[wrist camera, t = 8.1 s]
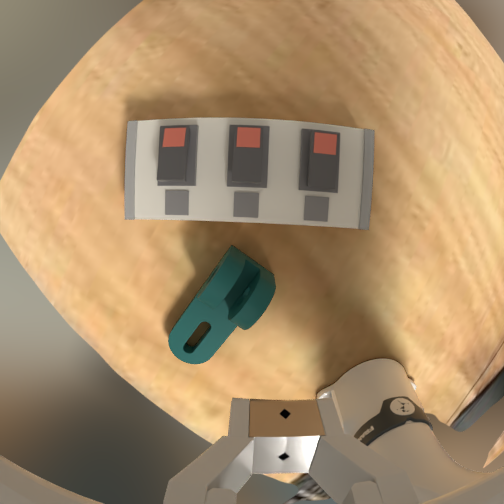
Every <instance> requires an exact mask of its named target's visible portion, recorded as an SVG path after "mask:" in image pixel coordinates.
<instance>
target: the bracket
mask: <svg viewBox="0 0 504 504" xmlns="http://www.w3.org/2000/svg"><path fill="white" fill-rule="evenodd" d="M275 289H276V284H275V279H274V274H272V273H271V272H269V271H268V270H267V269H265V268H264V267H262V266H261V265H259V264H258V263H257V262H255V261H254V260H252V259H251V258H250V257H248V256H247V255H245V254H244V253H242V252H241V251H240V250H238V249H237V248H235V247H234V246H233V245H231V247H230V248H229V250H228V251H227V252H226V254H225V255H224V257H223V258H222V259H221V261H220V262H219V263H218V265H217V266H216V268H215V269H214V270H213V272H212V273H211V275H210V276H209V277H208V279H207V280H206V282H205V283H204V284H203V286H202V287H201V289H200V290H199V291H198V293H197V294H196V296H195V297H194V298H193V300H192V301H191V303H190V304H189V306H188V307H187V308H186V310H185V311H184V313H183V314H182V315H181V317H180V318H179V320H178V321H177V323H176V324H175V326H174V327H173V329H172V331H171V333H170V335H169V339H168V342H169V347H170V349H171V351H172V353H173V354H174V355H175V356H176V357H177V358H178V359H180V360H181V361H183V362H186V363H190V364H201V363H204V362H206V361H208V360H209V359H210V358H211V357H212V356H213V355H214V354H215V352H216V351H217V350H218V349H219V348H220V346H221V345H222V344H223V343H224V342H225V340H226V339H227V338H228V337H229V335H230V334H231V333H232V332H233V331H234V329H235V328H236V327H237V326H239V327H240V328H242V329H243V330H247V329H249V328H250V327H251V326H253V325H254V324H255V323H256V322H257V320H258V319H259V318H260V317H261V316H262V314H263V313H264V311H265V310H266V308H267V307H268V305H269V303H270V302H271V300H272V298H273V295H274V293H275ZM201 322H208V323H209V324H210V325H211V326H210V327H209V329H208V330H207V331H206V333H205V334H204V335H203V336H202V338H201V339H200V340H199V342H198V343H197V344H196V345H195V346H189V345H187V343H186V342H187V340H188V339H189V338H190V336H191V335H192V334H193V332H194V331H195V330H196V328H197V327H198V326H199V324H200V323H201Z"/></svg>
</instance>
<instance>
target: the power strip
mask: <svg viewBox="0 0 504 504" xmlns="http://www.w3.org/2000/svg"><path fill="white" fill-rule="evenodd" d="M174 127H189V128H190V130H191V132H190V141H189V151H188V161H187V172H186V182H159V181H157V170H158V161H159V152H160V144H161V137H162V129H163V128H174ZM235 127H262V128H263V151H262V175H261V184H254V183H232V167H233V150H234V133H235ZM310 131H317V132H326V133H334V134H340V137H339V151H338V163H337V174H336V184H335V189H330V188H319V187H308V186H307V173H308V159H309V145H310ZM373 165H374V130H370V129H359V128H353V127H346V126H338V125H330V124H322V123H313V122H303V121H291V120H277V119H259V118H175V119H157V120H143V121H137V120H135V121H128V125H127V139H126V158H125V219H129V220H134V219H156V220H195V221H225V222H250V223H271V224H291V225H309V226H325V227H341V228H355V229H363V230H369V222H370V211H371V199H372V184H373Z"/></svg>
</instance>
